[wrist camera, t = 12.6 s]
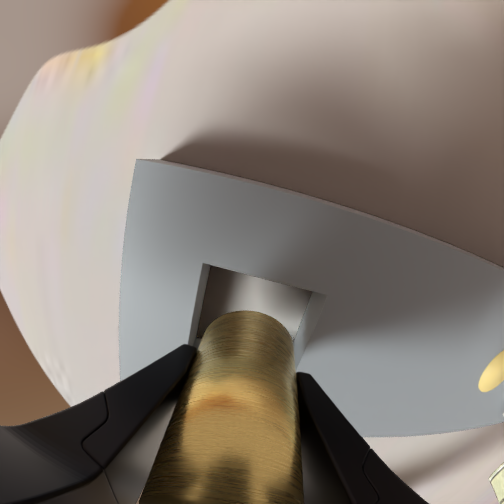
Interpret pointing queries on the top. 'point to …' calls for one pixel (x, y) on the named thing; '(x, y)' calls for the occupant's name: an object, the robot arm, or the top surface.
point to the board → (320, 296)
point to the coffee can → (498, 483)
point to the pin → (234, 421)
